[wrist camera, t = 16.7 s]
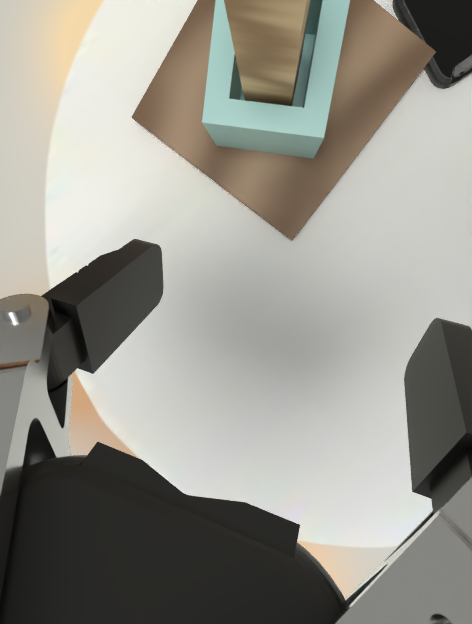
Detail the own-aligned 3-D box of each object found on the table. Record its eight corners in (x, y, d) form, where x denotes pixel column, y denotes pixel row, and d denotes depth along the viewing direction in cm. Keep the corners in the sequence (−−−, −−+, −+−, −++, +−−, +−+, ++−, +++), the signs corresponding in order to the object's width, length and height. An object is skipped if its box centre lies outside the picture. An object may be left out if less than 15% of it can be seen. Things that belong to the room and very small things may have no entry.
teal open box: (339, 20, 24) (358, -43, 18) (313, 158, 26) (323, 138, 20) (233, 9, 24) (221, -55, 19) (216, 145, 26) (202, 122, 21)
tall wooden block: (302, 53, 24) (341, -198, 10) (288, 123, 25) (307, -17, 11) (259, 47, 24) (241, -207, 10) (248, 117, 25) (217, -29, 11)
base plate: (429, 59, 24) (436, 51, 23) (291, 240, 28) (292, 240, 27) (254, -84, 24) (253, -98, 23) (136, 121, 28) (131, 117, 27)
